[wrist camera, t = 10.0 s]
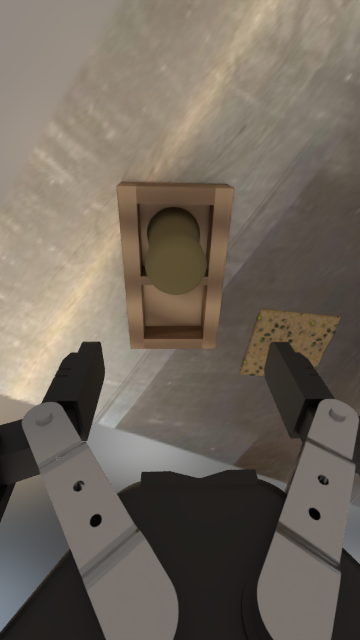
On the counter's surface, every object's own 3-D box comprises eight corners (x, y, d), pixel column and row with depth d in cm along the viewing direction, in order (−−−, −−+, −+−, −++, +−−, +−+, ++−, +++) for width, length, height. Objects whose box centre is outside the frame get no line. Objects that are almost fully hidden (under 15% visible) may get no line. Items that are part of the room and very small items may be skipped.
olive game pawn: (154, 198, 29) (149, 223, 20) (208, 216, 30) (226, 247, 21) (141, 252, 32) (130, 295, 23) (190, 266, 33) (199, 313, 24)
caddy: (121, 181, 29) (116, 185, 26) (227, 184, 29) (234, 188, 26) (133, 333, 39) (130, 348, 36) (211, 333, 39) (215, 348, 36)
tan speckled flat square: (341, 314, 39) (345, 317, 38) (309, 377, 45) (311, 381, 45) (259, 305, 38) (261, 309, 37) (237, 372, 44) (239, 376, 43)
